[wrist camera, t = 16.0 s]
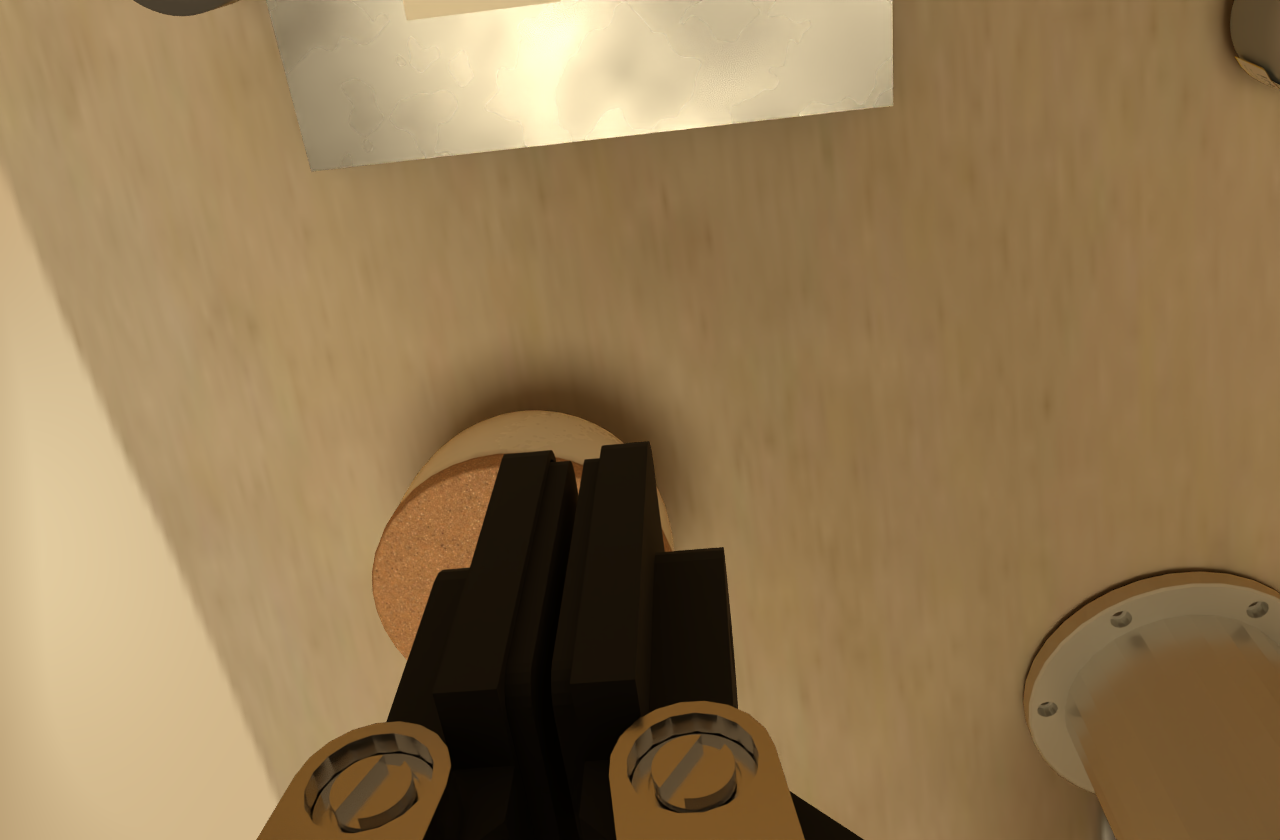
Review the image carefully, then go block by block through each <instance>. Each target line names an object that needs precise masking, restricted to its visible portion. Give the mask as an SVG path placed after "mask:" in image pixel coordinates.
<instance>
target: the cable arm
mask: <svg viewBox="0 0 1280 840" xmlns="http://www.w3.org/2000/svg"><path fill="white" fill-rule="evenodd" d="M134 1H135V2H137V3H139V4H140V5H142V6H144V7H146V8H148V9H151V10H153V11H156V12H159V13H162V14H167V15H172V16H190V15H196V14H200V13H204V12H207V11H210V10H214V9H217V8H220V7H223V6H226V5H229V4H232V3H235V2H237V1H240V0H134Z"/></svg>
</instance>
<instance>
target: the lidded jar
mask: <svg viewBox="0 0 1280 840" xmlns="http://www.w3.org/2000/svg"><path fill="white" fill-rule="evenodd" d="M613 444H624V443H623V442H622V441H621V440H619V439H618V438H617V437H615V436H614V435H613V434H612V433H610V432H608V431H607V430H605V429H603V428H601V427H600V426H598V425H596V424H594V423H592V422H589V421H587V420H584V419H582V418H579V417H577V416H572V415H568V414H564V413H560V412H553V411H543V410H530V411H517V412H511V413H506V414H501V415H498V416H495V417H492V418H489V419H486V420H484V421H481V422H479V423H477V424H475V425H473V426H471V427H469V428H467V429H465V430H464V431H462V432H460V433H459V434H457V435H456V436H455V437H453V438H452V439H451V440H449V441H448V442H447V443H446V444H444V445H443V446H442V447H441V448H440V449H439V450H438V451H437V452H436V453H435V454H434V455H433V456H432V457H431V458H430V459H429V461H428V462H427V463H426V464H425V465H424V466H423V467H422V469H421V470H420V471H419V473H418V474H417V476H416V477H415V478H414V480H413V482H412V483H411V485H410V486H409V488H408V490H407V491H406V493H405V495H404V496H403V498H402V500H401V502H400V504H399V506H398V507H397V509H396V511H395V512H394V514H393V515H392V517H391V519H390V520H389V522H388V523H387V525H386V527H385V529H384V532H383V534H382V537H381V540H380V542H379V545H378V547H377V550H376V553H375V558H374V564H373V570H372V585H373V595H374V600H375V604H376V609H377V612H378V615H379V617H380V619H381V622H382V624H383V626H384V629H385V631H386V632H387V634H388V635H389V637H390V638H391V640H392V642H393V643H394V645H395V646H396V648H397V649H398V650H399V651H400V652H401V653H402V655H403V656H404V657H405V658H406V659H407V660H408V657H409V654H410V651H411V648H412V645H413V642H414V639H415V636H416V634H417V631H418V628H419V625H420V622H421V619H422V616H423V613H424V610H425V607H426V604H427V601H428V598H429V595H430V592H431V589H432V586H433V583H434V581H435V579H436V577H437V575H438V573H439V572H440V571H442V570H445V569H457V568H470V565H471V562H472V558H473V555H474V552H475V548H476V545H477V541H478V538H479V535H480V531H481V528H482V525H483V521H484V518H485V514H486V511H487V508H488V504H489V501H490V498H491V494H492V491H493V487H494V484H495V481H496V477H497V474H498V471H499V467H500V464H501V460H502V458H503V456H504V454H511V453H523V452H534V451H545V450H552V451H553V453H554V455H555V458H556V462H560V461H571V462H572V464H573V467H574V472H575V477H576V483H577V489H578V495H579V488H580V482H581V476H582V470H583V463H584V460H585V459H595V458H600V452H601V447H602V446H603V445H613ZM656 488H657V486H656ZM657 496H658V503H659V511H660V519H661V526H662V534H663V542H664V549H665V552H670V551H674V548H673V536H672V532H671V527H670V523H669V519H668V515H667V511H666V507H665V504H664V502H663V499H662V497H661V495H660V493H659V490H658V488H657Z"/></svg>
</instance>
